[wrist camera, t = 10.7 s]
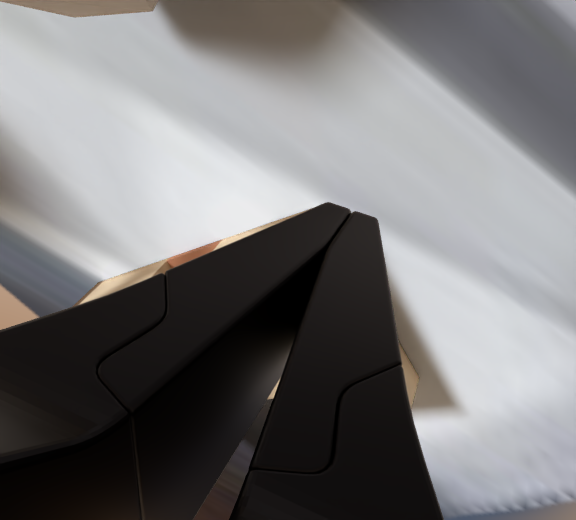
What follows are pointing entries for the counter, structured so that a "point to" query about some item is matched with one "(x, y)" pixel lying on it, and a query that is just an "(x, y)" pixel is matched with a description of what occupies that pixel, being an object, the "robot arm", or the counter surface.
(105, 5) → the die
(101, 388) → the robot arm
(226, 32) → the counter surface
